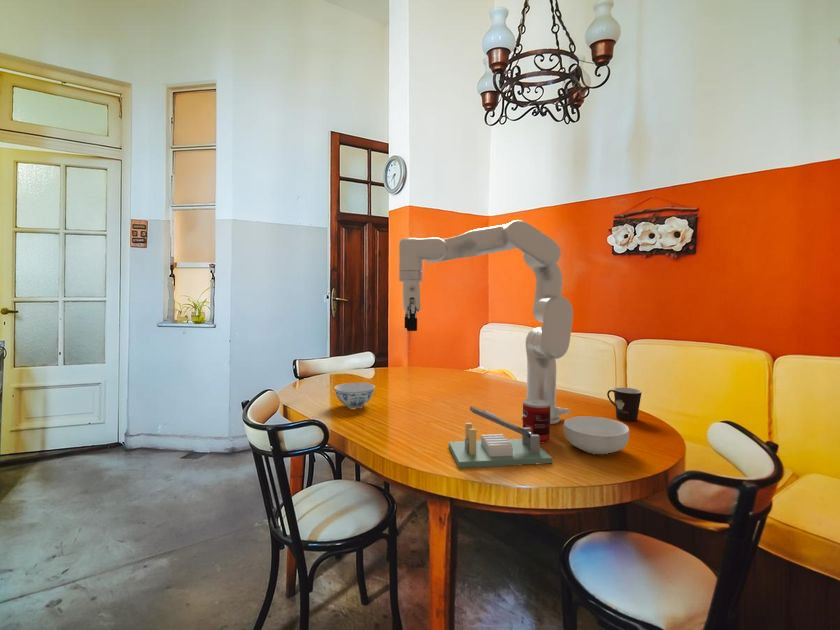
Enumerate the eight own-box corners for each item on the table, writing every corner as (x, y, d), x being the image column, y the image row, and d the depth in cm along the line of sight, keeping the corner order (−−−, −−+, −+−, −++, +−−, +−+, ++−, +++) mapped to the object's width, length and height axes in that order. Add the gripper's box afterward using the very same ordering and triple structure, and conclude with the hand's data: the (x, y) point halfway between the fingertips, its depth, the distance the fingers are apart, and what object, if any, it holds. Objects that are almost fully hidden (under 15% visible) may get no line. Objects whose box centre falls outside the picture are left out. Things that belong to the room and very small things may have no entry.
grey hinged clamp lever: (529, 436, 113) (532, 430, 113) (534, 441, 109) (537, 435, 109) (468, 409, 111) (471, 403, 111) (472, 414, 107) (475, 407, 107)
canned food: (528, 432, 129) (529, 397, 128) (553, 438, 123) (554, 401, 123) (517, 439, 123) (518, 402, 122) (543, 445, 118) (544, 407, 117)
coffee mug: (645, 422, 138) (646, 393, 138) (620, 422, 138) (621, 393, 138) (628, 412, 150) (629, 385, 150) (604, 412, 150) (605, 385, 150)
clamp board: (531, 443, 119) (531, 416, 118) (552, 463, 105) (552, 432, 104) (448, 446, 116) (449, 418, 116) (459, 467, 102) (459, 436, 102)
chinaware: (339, 401, 164) (339, 382, 164) (377, 401, 164) (377, 382, 163) (330, 412, 149) (330, 391, 149) (371, 412, 149) (371, 391, 148)
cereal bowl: (564, 436, 125) (565, 413, 125) (625, 443, 119) (626, 419, 119) (562, 456, 110) (562, 430, 109) (632, 466, 104) (632, 438, 103)
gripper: (425, 276, 126) (425, 332, 127) (419, 278, 143) (419, 327, 144) (400, 275, 125) (400, 332, 126) (397, 277, 142) (397, 327, 143)
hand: (410, 329), depth 135 cm, fingers open, 9 cm apart
